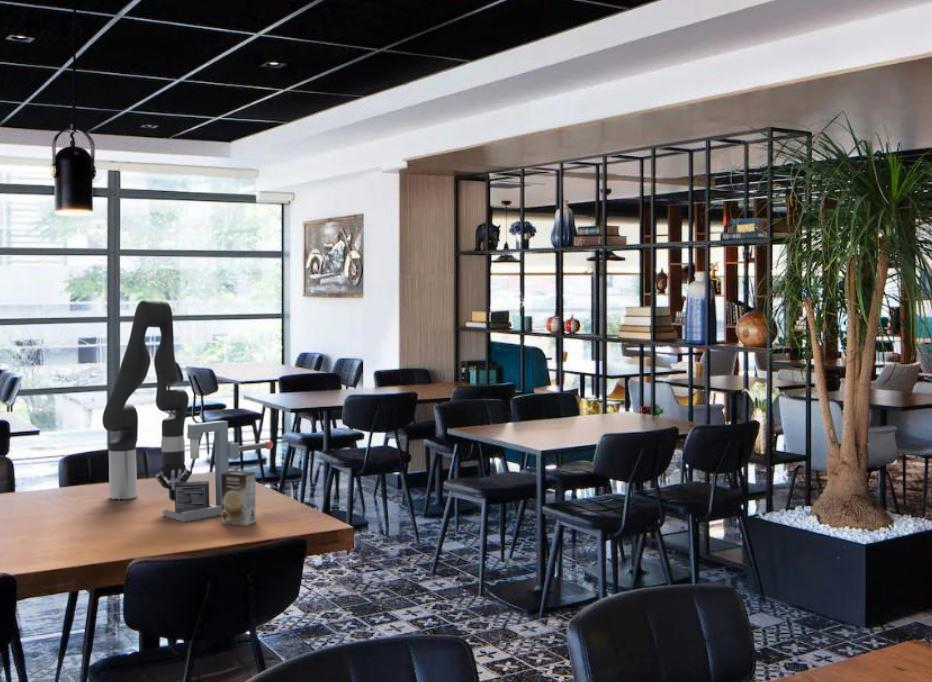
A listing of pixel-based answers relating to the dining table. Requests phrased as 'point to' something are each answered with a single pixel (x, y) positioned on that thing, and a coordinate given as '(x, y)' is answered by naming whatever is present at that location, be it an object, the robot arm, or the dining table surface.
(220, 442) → the press
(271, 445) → the lever
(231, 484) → the coffee box
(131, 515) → the dining table surface
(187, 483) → the small box
